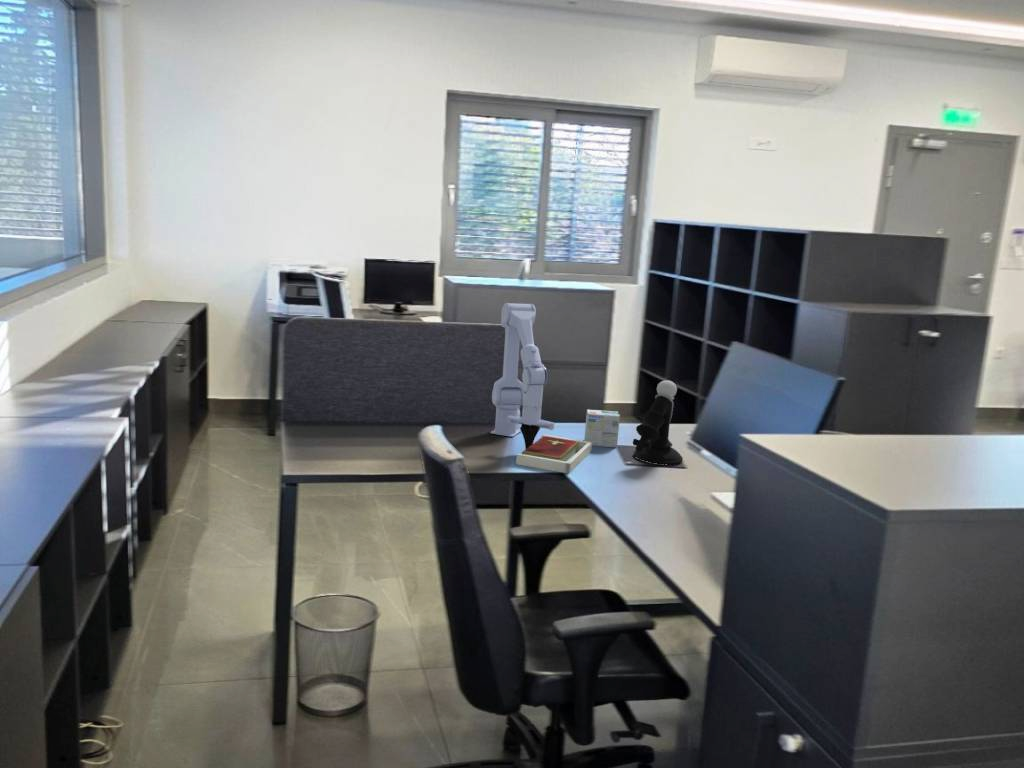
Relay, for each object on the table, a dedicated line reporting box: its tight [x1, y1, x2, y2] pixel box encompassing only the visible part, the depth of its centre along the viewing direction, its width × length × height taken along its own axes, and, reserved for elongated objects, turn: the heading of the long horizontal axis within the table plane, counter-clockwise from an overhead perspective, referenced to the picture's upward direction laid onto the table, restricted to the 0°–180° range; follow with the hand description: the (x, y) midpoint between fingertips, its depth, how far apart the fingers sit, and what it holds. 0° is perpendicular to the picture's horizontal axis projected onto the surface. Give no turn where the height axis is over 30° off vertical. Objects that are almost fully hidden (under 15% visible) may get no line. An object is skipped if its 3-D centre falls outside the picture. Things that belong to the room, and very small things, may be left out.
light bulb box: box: [583, 409, 621, 448], centre depth 280 cm, size 11×7×11 cm, turn 89°
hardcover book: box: [521, 436, 579, 462], centre depth 262 cm, size 12×21×4 cm, turn 161°
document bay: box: [515, 434, 593, 474], centre depth 261 cm, size 26×16×3 cm, turn 161°
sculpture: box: [632, 379, 684, 466], centre depth 264 cm, size 15×24×25 cm, turn 147°
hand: (528, 448), depth 264 cm, fingers closed
